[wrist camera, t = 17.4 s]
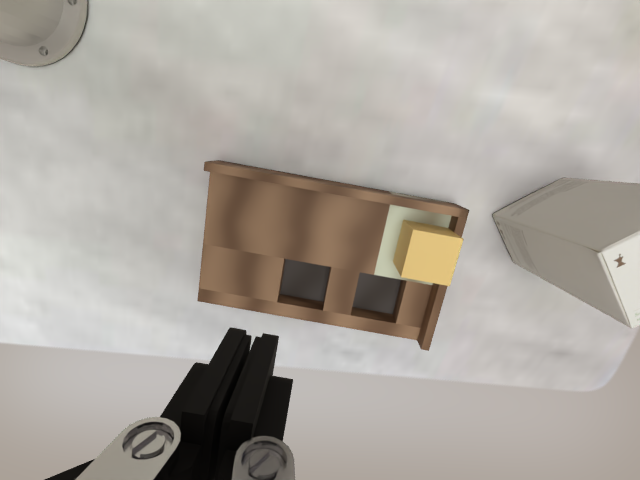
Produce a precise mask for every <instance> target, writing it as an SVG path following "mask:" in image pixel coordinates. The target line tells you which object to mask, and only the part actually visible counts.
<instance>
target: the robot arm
mask: <svg viewBox="0 0 640 480" xmlns="http://www.w3.org/2000/svg"><path fill="white" fill-rule="evenodd" d="M86 17H87V0H0V58H1V59H3V60H6V61H9V62H12V63H16V64H20V65H25V66H43V65H47V64H51V63H54V62H56V61H57V60H59V59H61V58H63V57H64V56H65V55H66V54H68V53H69V52H70V51H71V50H72V49H73V47H74V46H75V45H76V43H77V42H78V40H79V38H80V36H81V34H82V32H83V29H84V25H85V21H86ZM278 339H279V336H275V335H270V334H264V333H263V335H262V337H255V340H254V342H253V345H252V347H251V350H250V345H251V336H250V335H246V330H241V329H236V328H229V330H228V332H227V333H226V335H225V337H224V339H223V340H222V342H221V344H220V345H219V347H218V349H217V351H216V352H215V354H214V356H213V358H212V359H211V361H210V363H209V364H203V363H195V364H194V365H193V366H192V368H191V369H190V371H189V373H188V374H187V376H186V377H185V379H184V380H183V382H182V383H181V385H180V386H179V388H178V390H177V391H176V393H175V394H174V396H173V397H172V399H171V401H170V402H169V404H168V405H167V407H166V408H165V410H164V412H163V413H162V415H161V416H160V417H152V418H146V419H142V420H139V421H137V422H135V423H133V424H131V425H129V426H128V427H127V428H125V429H124V430H123V431H122V432H121V433H120V434H119V435H118V436H117V437H116V438H115V439H114V440H113V441H112V442H111V443H110V444H109V445H108V446H107V447H106V449H104V450H103V452H102V453H101V454H100V455H99V456H98V457H97V458H96V459H94V460H91V461H89V462H86V463H84V464H81V465H79V466H77V467H74V468H72V469H69V470H67V471H64V472H62V473H60V474H57V475H55V476H52V477H50V478H48V479H45V480H295V468H294V458H293V454H292V452H291V450H290V449H289V447H288V446H287V445H286V444H285V443H284V442H283V436H284V430H285V424H286V418H287V413H288V407H289V401H290V395H291V389H292V383H293V379H288V378H282V377H276V376H272V375H273V369H274V363H275V357H276V351H277V345H278ZM249 351H250V352H249Z"/></svg>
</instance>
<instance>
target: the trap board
mask: <svg viewBox="0 0 640 480" xmlns="http://www.w3.org/2000/svg"><path fill="white" fill-rule="evenodd" d="M204 171H209V172H210V178H209V189H208V199H207V209H206V220H205V230H204V240H203V251H202V261H201V271H200V281H199V292H198V301H200V302H206V303H211V304H217V305H223V306H228V307H234V308H240V309H245V310H251V311H256V312H262V313H268V314H273V315H279V316H284V317H290V318H296V319H301V320H307V321H312V322H318V323H324V324H329V325H335V326H341V327H346V328H352V329H357V330H363V331H369V332H374V333H380V334H385V335H391V336H397V337H402V338H408V339H414V340H417V341H418V343H419V345H420V348H421V349H423V350H428V351H429V348H430V344H431V341H432V338H433V334H434V331H435V327H436V324H437V320H438V317H439V313H440V310H441V306H442V303H443V299H444V296H445V293H446V289H447V286H446V285H441V284H435V283H430V282H424V281H419V280H414V279H408V278H403V277H401V276H400V274H399V272H398V271H397V269H396V267H395V265H394V263H393V259H394V255H395V251H396V247H397V243H398V239H399V235H400V231H401V227H402V223H403V220H408V221H414V222H419V223H424V224H430V225H435V226H441V227H446V228H448V229H450V230H451V231H453V232H454V233H456V234H457V235H459V236H460V237H462V234H463V230H464V227H465V223H466V220H467V216H468V213H469V210H468V209H465V208H463V207H461V206H459V205H457V204H454V203H449V202H444V201H438V200H433V199H427V198H422V197H416V196H411V195H405V194H400V193H394V192H389V191H384V190H378V189H373V188H367V187H362V186H356V185H351V184H345V183H340V182H334V181H329V180H323V179H318V178H312V177H307V176H302V175H296V174H291V173H285V172H280V171H274V170H269V169H263V168H258V167H252V166H247V165H241V164H236V163H230V162H225V161H219V160H218V161H208V162H205V164H204Z"/></svg>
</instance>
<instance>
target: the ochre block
mask: <svg viewBox="0 0 640 480" xmlns="http://www.w3.org/2000/svg"><path fill="white" fill-rule="evenodd" d="M462 242H463V238H461V237H460V236H459V235H457V234H456V233H454V232H453V231H451V230H450V229H448V228H446V227H441V226H435V225H430V224H424V223H419V222H414V221H408V220H403V223H402V227H401V231H400V235H399V239H398V243H397V247H396V251H395V255H394V259H393V263H394V265H395V267H396V269H397V271H398V272H399V274H400V276H401V277H403V278H408V279H414V280H419V281H424V282H430V283H435V284H441V285H446V286H450V283H451V280H452V276H453V273H454V270H455V266H456V263H457V259H458V256H459V253H460V249H461V246H462Z"/></svg>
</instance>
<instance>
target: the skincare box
mask: <svg viewBox="0 0 640 480" xmlns="http://www.w3.org/2000/svg"><path fill="white" fill-rule="evenodd" d="M493 218H494V220H495V222H496V225H497V227H498V229H499V231H500V234H501V236H502V238H503V240H504V242H505V245H506V247H507V249H508V251H509V253H510V255H511V257H512V260H513V262H514V263H515V264H517V265H519V266H521V267H523V268H524V269H526V270H528V271H530V272H531V273H533V274H535V275H537V276H539V277H540V278H542V279H544V280H546V281H547V282H549V283H551V284H553V285H555V286H557V287H558V288H560V289H562V290H564V291H565V292H567V293H569V294H571V295H573V296H574V297H576V298H578V299H580V300H582V301H583V302H585V303H587V304H589V305H590V306H592V307H594V308H596V309H598V310H600V311H601V312H603V313H605V314H607V315H609V316H611V317H612V318H614V319H616V320H617V321H619V322H621V323H623V324H625V325H626V326H628V327H630V328H631V329H632V328H635V327H637V326H639V325H640V184H637V183H624V182H612V181H598V180H585V179H572V178H562V179H559V180H557V181H556V182H554V183H552V184H550V185H548V186H546V187H544V188H542V189H540V190H538V191H536V192H534V193H532V194H530V195H528V196H526V197H524V198H522V199H520V200H518V201H516V202H515V203H513V204H511V205H509V206H507V207H505V208H503V209H501V210H499V211H497V212H495V213H494V214H493Z"/></svg>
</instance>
